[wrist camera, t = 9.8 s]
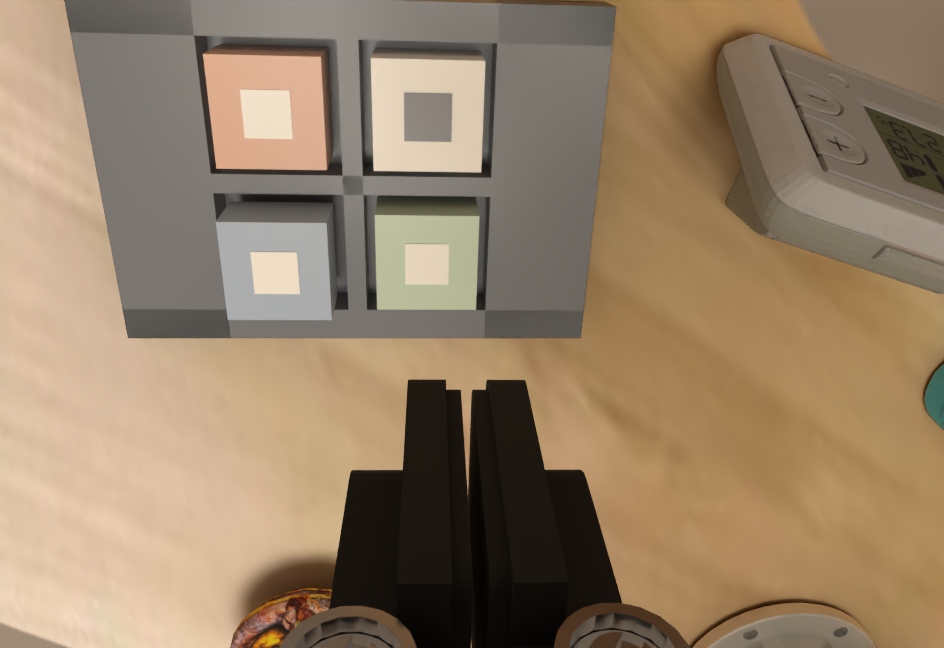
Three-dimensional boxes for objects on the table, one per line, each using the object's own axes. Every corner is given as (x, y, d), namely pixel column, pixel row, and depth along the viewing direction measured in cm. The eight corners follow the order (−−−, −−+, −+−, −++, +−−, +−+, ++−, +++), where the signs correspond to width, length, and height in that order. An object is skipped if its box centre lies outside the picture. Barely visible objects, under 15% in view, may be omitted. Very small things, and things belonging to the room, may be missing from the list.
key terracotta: (328, 47, 31) (320, 57, 28) (333, 153, 33) (326, 170, 30) (218, 44, 30) (202, 54, 28) (230, 151, 32) (215, 169, 30)
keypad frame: (605, 2, 31) (616, 6, 29) (572, 318, 37) (580, 338, 36) (83, -14, 30) (62, -10, 28) (142, 317, 36) (128, 337, 34)
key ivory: (480, 51, 31) (485, 61, 29) (476, 155, 33) (481, 172, 31) (374, 48, 31) (370, 58, 28) (376, 154, 33) (373, 171, 30)
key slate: (332, 202, 32) (326, 223, 30) (337, 294, 34) (331, 321, 32) (229, 201, 32) (215, 222, 30) (240, 294, 34) (227, 320, 32)
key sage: (475, 197, 34) (479, 216, 32) (472, 285, 36) (476, 310, 33) (377, 195, 34) (374, 215, 31) (379, 285, 35) (377, 310, 33)
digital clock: (1046, 156, 35) (1278, 241, 26) (904, 314, 38) (1063, 441, 29) (774, -46, 31) (932, -33, 21) (639, 152, 34) (725, 240, 24)
